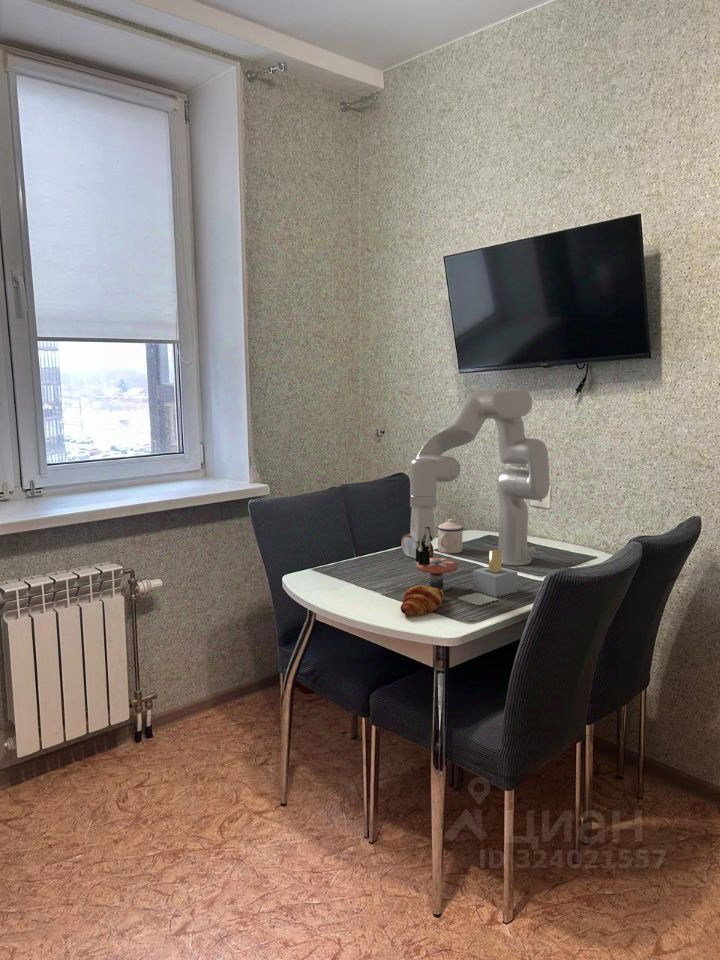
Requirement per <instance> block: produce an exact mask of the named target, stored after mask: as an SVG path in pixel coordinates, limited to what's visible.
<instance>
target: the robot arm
mask: <svg viewBox="0 0 720 960" xmlns="http://www.w3.org/2000/svg"><path fill="white" fill-rule="evenodd" d="M532 407H533V398H532V395H531V394H530V392H529V391H527V390H526V389H521V388H520V389H519V388H517V389H515V388H511V389H510V388H509V389H508V388H492V389H486V390H474V391H472V392H470V393H469V394H468V395H467V397H466V398H465V400H464V401H463V402H462V404H461V406H460V408H459V409H458V411H457V412H456V415H454V418H453V420H452V421H451V422H450V423H449V425H447V426H446V427H444V428H442V429H440V430H439V431H438V432H437V433H436V434H434V435H432V436H431V437H430V438H429V439H428V440H426V442H425V443H424V444H423V445H422V446H421V448H420V450H419V452H418V453H417V454H416V455H417V456H415V457H416V458H414V459H412V460H411V461H410V465H409V467H410V468H409V473H410V474H409V475H410V477H409V484H410V486H409V506H410V508H411V511H410V512H411V513H410V529H409V531H410V532H409V533H410V535H411V536H412V537H413V538H414V539H415V540H416V560H415V562H419V565H429V564H430V545H431V544H430V542H433V541H434V539H435V538H434V536H435V517H434V516H435V515H434V513H435V512H434V508H436V507H437V483H440V482H441V483H450V482H453V481H455V480H456V479H457V478H458V477H459V476H460V474H461V465H460V462H459V461H458V460H457V459H456V458H454V457H452V456H447V455H446V456H445V455H443V454H445V452H447V451H450V450H452V449H456V448H458V447H463V446H465V445H466V444H470V443H471V442H473V441H474V440H475V438H476V437H477V435H478V434H479V431H480V430H481V429H482V426H483V425H484V423H485V422H486V420H487V419H489V420H490V419H493V420H494V422H495V424H496V429H497V435H498V436H497V437H498V438H497V439H498V451H499V452H498V453H499V458H500V461H501V463H502V464H504V465H506V466H510V467H516V468H507V469H503V470H502V471H501V472H500V473H499V474H498V476H497V479H496V486H497V495H498V500H499V501H498V504H499V505H498V506H499V507H498V508H499V509H498V510H499V512H498V514H499V515H498V548H497V550H501V551H502V565H506V566H527V565H529V564H530V563H531V562H532V558H531V557H530V556H529V555H530V554H533V553H536V548H535V547H534V546H532V547H528V530H529V528H528V527H529V526H528V525H529V508H528V506H527V503H526V501H525V500H530V501H531V500H532V501H542V500H544V499H545V498H547V496H548V494H549V492H550V467H549V465H550V464H549V462H550V461H549V452H548V447H547V445H546V444H545V443H544V442H543V441H542V440H541V439H537V438H527V437H526V435H525V426H524V420H523V417H525V416H528V414H529V413H530V411H531V409H532ZM517 467H520V468H527V469H528V470H526V469H519V468H517ZM419 547H420V551H419Z"/></svg>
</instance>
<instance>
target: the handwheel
mask: <svg viewBox="0 0 720 960" xmlns="http://www.w3.org/2000/svg"><path fill="white" fill-rule="evenodd" d="M419 551H420V547H419ZM415 562H416V561H415ZM415 565H416V566H415V567H416V569H417V570H418V571H420V572H423V573H429V574H430V573H443V574H447V573H448V574H449V573H454V572H456V571H457V570H458V562H457V561H455V560H453V559H450V558H444V557H441V558H440V557H432V558H430V564H429V565H419V562H416V564H415Z"/></svg>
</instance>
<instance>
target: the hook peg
mask: <svg viewBox="0 0 720 960" xmlns="http://www.w3.org/2000/svg"><path fill="white" fill-rule="evenodd" d="M488 552H489V553H488V567H489V572H490V573H493V574H499V573H501V567H502V565H503V564H502V551H501V550H498V549H489V551H488Z"/></svg>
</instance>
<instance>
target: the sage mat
mask: <svg viewBox="0 0 720 960" xmlns="http://www.w3.org/2000/svg"><path fill="white" fill-rule="evenodd" d="M457 599H458V600H459V601H463V602H465V603H468V604H471V603H472V605H473V604H475V605H474V606H476V605H480V606H483V605H482V604H484V605H486V604H485V603H488V604H490V603H489V602H491V603H493V602H492V601H495V602H497V601H496V600H498V601H499V599H498V598H497V597H492V596H489V595H486V594H483V593H480V592H474V593H471V594H466V595H462V596H459V597H457Z"/></svg>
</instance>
